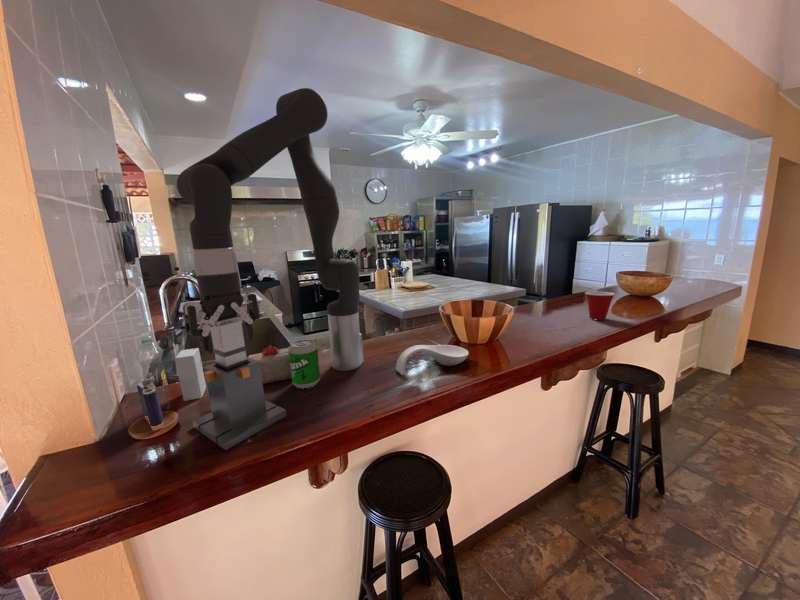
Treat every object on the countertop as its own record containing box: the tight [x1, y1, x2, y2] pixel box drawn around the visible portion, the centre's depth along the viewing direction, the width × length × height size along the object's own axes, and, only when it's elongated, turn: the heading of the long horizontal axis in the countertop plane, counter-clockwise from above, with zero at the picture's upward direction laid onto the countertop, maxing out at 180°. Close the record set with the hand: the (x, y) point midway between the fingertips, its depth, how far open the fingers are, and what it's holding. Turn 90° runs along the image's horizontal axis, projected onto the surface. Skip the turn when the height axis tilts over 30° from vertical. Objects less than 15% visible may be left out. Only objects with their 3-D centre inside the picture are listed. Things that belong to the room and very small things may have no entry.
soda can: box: [287, 339, 321, 390], centre depth 88 cm, size 8×8×12 cm
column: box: [210, 315, 248, 372], centre depth 70 cm, size 5×5×24 cm
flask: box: [136, 377, 164, 427], centre depth 72 cm, size 9×3×11 cm, turn 48°
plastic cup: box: [585, 291, 616, 321], centre depth 139 cm, size 11×11×12 cm
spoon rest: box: [395, 344, 470, 376], centre depth 98 cm, size 24×12×7 cm, turn 116°
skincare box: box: [174, 347, 207, 402], centre depth 84 cm, size 6×4×12 cm
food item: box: [248, 344, 292, 385], centre depth 92 cm, size 14×8×10 cm, turn 114°
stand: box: [192, 356, 287, 451], centre depth 71 cm, size 14×14×14 cm
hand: (229, 346), depth 68 cm, fingers open, 8 cm apart
